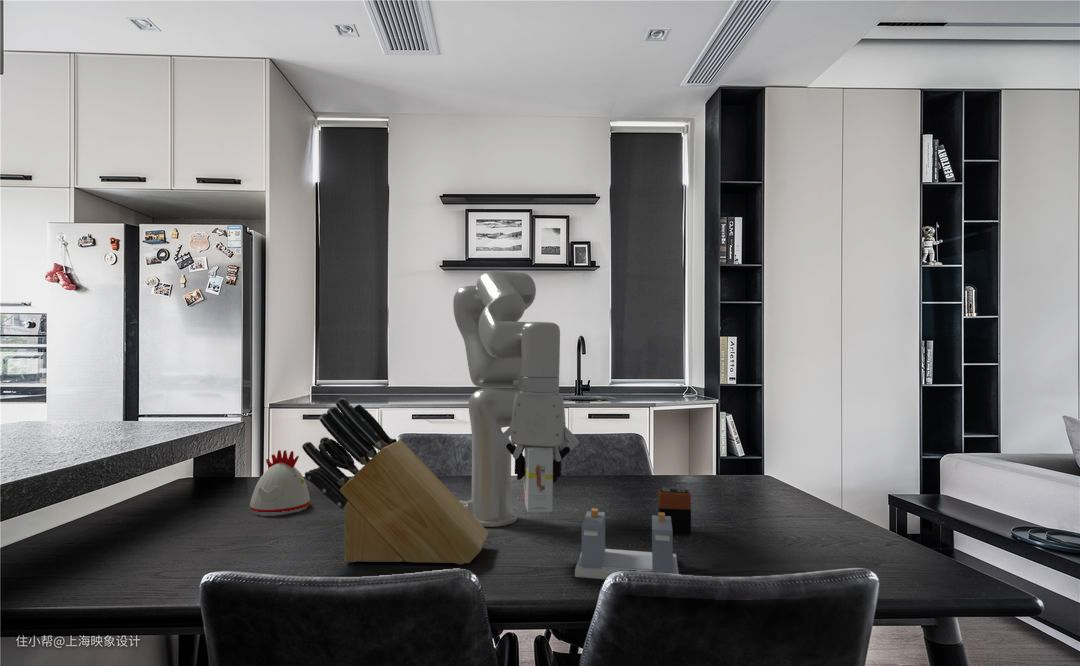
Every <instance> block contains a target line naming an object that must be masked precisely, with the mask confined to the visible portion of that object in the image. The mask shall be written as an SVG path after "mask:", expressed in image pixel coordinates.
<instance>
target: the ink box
mask: <svg viewBox="0 0 1080 666" xmlns="http://www.w3.org/2000/svg"><path fill="white" fill-rule="evenodd" d="M552 449H553V448H552V447H534V446H525V448H524V451H523V456H524V457H525V463H524V477H523V498H522V499H523V502H524V505H525V509H526V512H527V513H553V512H554V508H553V507H554V506H553V500H554V494H553V493H554V490H553V489H554V487H553V486H554V482H553V460H554V455H553V450H552Z"/></svg>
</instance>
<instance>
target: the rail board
mask: <svg viewBox="0 0 1080 666" xmlns="http://www.w3.org/2000/svg"><path fill="white" fill-rule="evenodd" d="M673 535H674V534H673V530H672V523H671V516H665V513H664V512H657V515H655V514H654V515H651V542H652V543H651V548H652V549H651V551H639V550H627V549H626V550H625V549H615V548H614V549H612V548H606V512H604V511H599V509H598V508H593V507H592V508H591V510H589V511H586V514H585V516H584V518H583V521H582V523H581V552H580V555H579V558H578V560H577V563H576V566H575V569H574V577H576V578H586V579H595V580H596V579H599V580H606V579H605V578H606V577H607V576H608V575H610V574H611V573H613V572H615V571H620V570H636V571H656V572H667V573H677V574H679V566H678V559H677V553H674V547H673V544H674V543H673V541H674V537H673ZM679 575H680V574H679Z"/></svg>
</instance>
